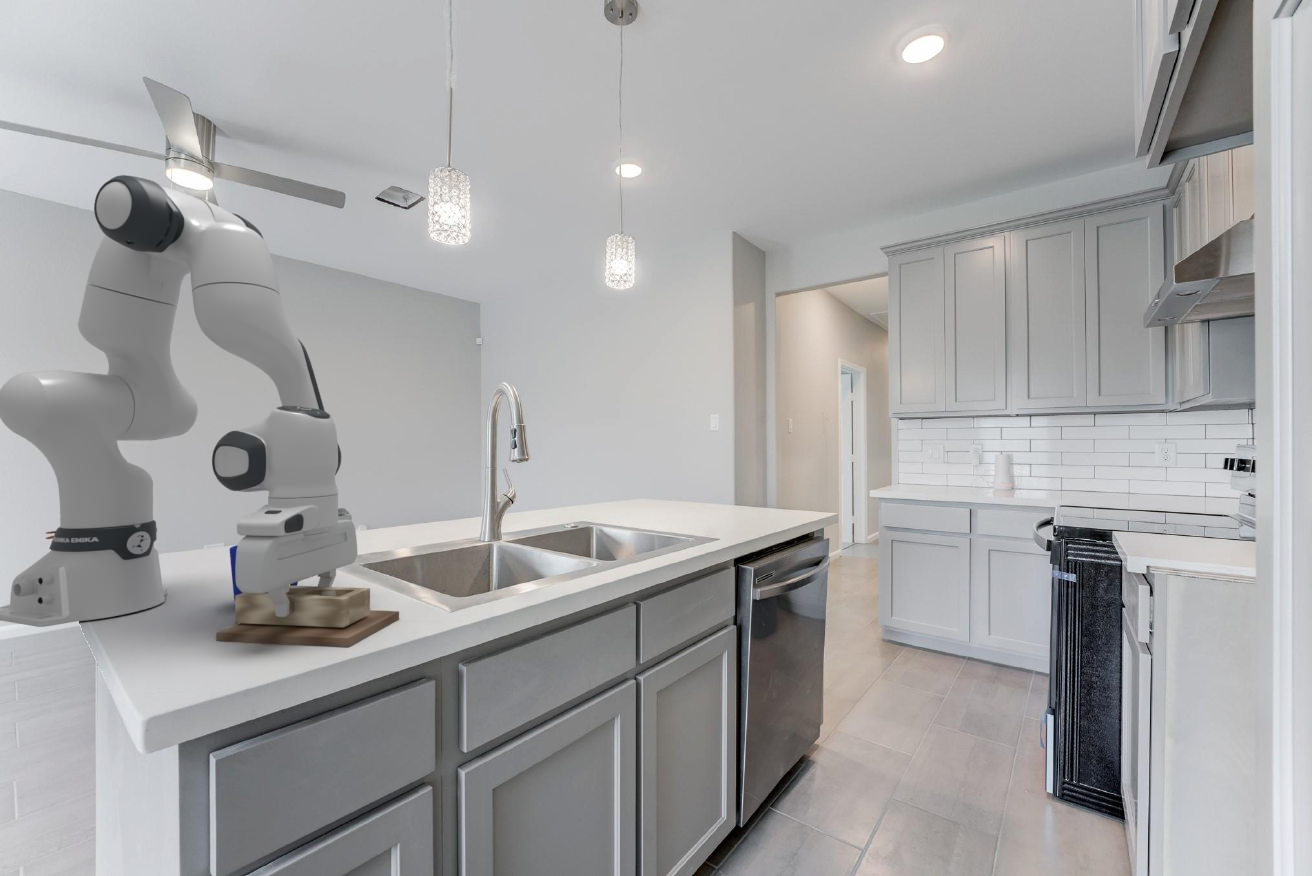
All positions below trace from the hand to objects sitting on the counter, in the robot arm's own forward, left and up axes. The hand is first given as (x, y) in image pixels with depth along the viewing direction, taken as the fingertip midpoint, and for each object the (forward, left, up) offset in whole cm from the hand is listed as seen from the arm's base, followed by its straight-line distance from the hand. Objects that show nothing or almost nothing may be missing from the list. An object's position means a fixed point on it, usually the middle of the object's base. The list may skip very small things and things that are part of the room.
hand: (304, 607), depth 83 cm
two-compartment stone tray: (0, 0, -2) cm, 2 cm away
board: (+1, 0, -3) cm, 3 cm away
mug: (-16, +11, -3) cm, 19 cm away
